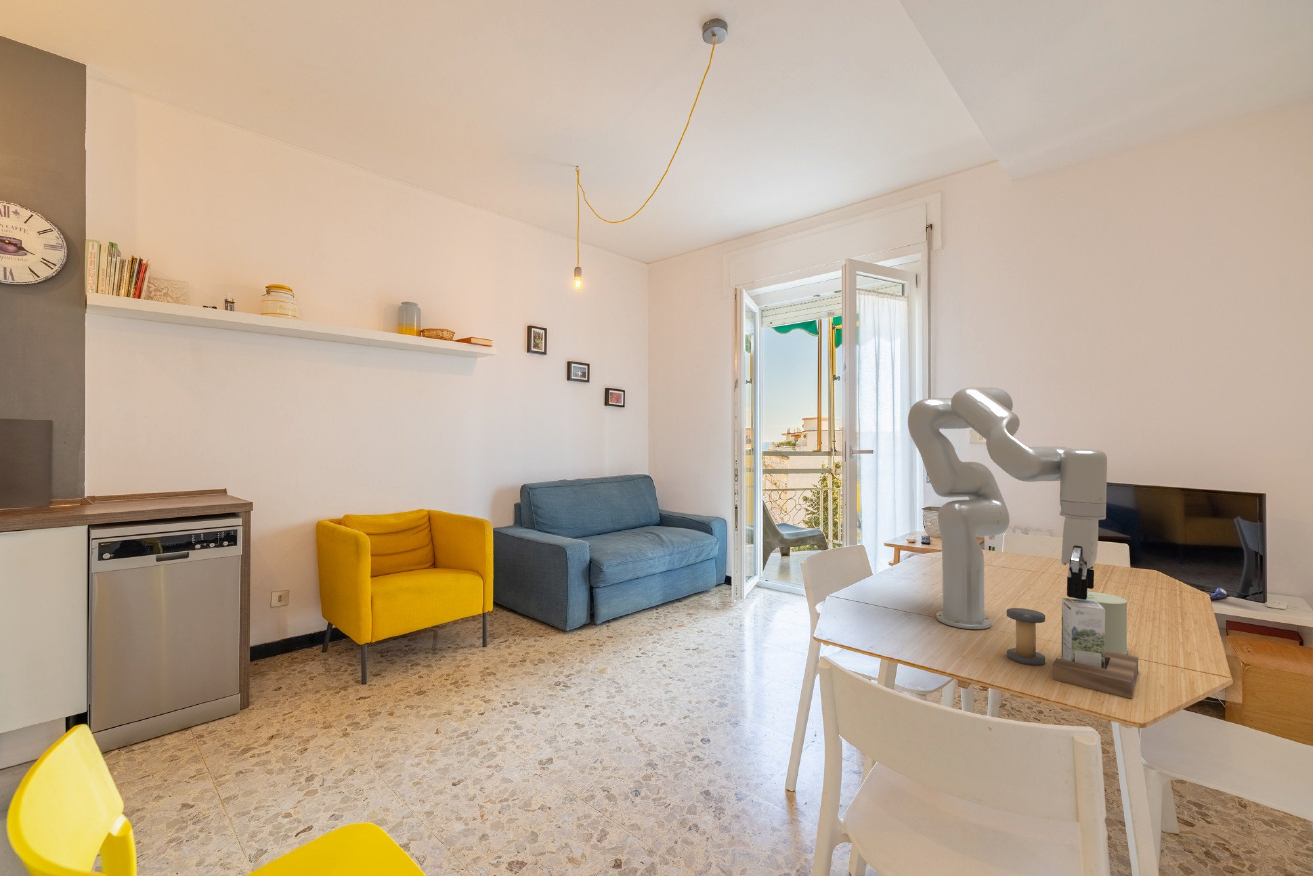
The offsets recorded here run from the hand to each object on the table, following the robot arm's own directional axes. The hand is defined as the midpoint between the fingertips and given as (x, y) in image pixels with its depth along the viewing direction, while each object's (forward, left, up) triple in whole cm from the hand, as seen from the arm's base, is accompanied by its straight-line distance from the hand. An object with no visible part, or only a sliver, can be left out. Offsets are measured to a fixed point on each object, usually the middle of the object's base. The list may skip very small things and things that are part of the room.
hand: (1080, 592), depth 114 cm
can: (-19, +1, -17) cm, 25 cm away
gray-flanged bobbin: (0, -10, -16) cm, 19 cm away
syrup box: (0, 0, -16) cm, 16 cm away
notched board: (0, +2, -16) cm, 16 cm away
